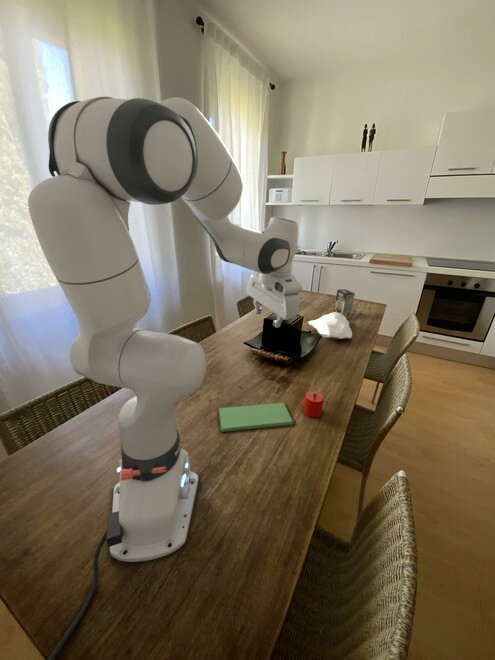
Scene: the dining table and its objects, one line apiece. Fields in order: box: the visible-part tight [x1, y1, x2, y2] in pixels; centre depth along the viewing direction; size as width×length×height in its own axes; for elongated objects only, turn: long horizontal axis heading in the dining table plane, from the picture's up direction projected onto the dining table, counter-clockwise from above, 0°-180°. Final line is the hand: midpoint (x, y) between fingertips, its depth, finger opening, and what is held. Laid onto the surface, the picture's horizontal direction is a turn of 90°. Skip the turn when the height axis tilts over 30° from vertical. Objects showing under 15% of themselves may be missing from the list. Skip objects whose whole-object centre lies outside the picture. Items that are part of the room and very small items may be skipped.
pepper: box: [303, 390, 325, 418], centre depth 89 cm, size 6×6×7 cm
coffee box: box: [333, 289, 356, 320], centre depth 171 cm, size 9×6×16 cm
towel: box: [218, 402, 295, 433], centre depth 87 cm, size 10×22×1 cm, turn 100°
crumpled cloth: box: [307, 311, 353, 340], centre depth 148 cm, size 24×35×9 cm
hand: (266, 319), depth 87 cm, fingers open, 8 cm apart
